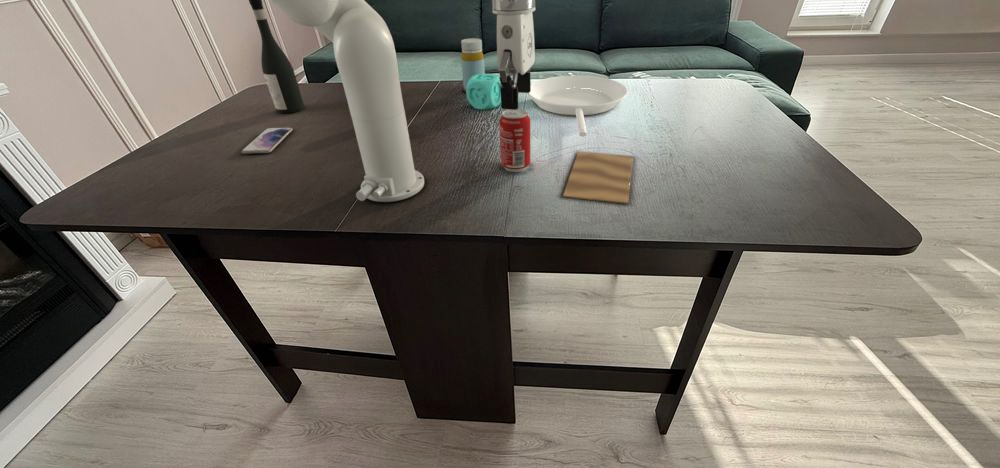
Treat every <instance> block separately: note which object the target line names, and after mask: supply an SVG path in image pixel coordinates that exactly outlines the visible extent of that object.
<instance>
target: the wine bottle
mask: <svg viewBox="0 0 1000 468" xmlns="http://www.w3.org/2000/svg"><path fill="white" fill-rule="evenodd" d="M248 3H249V5H250V6H251V10H252V12H253V15H254V18H255V21H256V23H257V27H258V30H259V34H260V38H261V59H260V61H261V63H260V64H261V70H262V74H263V77H264V79H265V82H266V85H267V88H268V91H269V94H270V97H271V100H272V103H273V106H274V108H275V111H276V112H278V113H280V114H293V113H297V112H299V111H302V110H303V108H305V104H304V103H305V102H304V100H303V97H302V93H301V90H300V87H299V83H298V80H297V77H296V73H295V70H294V68H293V66H292V63H291V62H290V60H289V58H288V56H287V55H286V53H285V52H284V51H283V50H282V48H281V47H280V45H279V44H278V43H277V41H276V39H275V38H274V36H273V33H272V31H271V28H270V24H269V22H268V18H267V15H266V12H265V9H264V5H263V0H248Z"/></svg>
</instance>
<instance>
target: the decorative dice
mask: <svg viewBox="0 0 1000 468" xmlns="http://www.w3.org/2000/svg"><path fill="white" fill-rule="evenodd" d="M499 78H500V76H498V75H497V74H494V73H485V74H478V75H474V76H472V77H471V78H470V79H469V81H468V84H467V89H466V91H465V92H466V99H467V101H468V103H469V104H470V106H472V107H473V108H474V109H476V110H481V111H482V110H486V111H487V110H493V109H497V107H498V106H500V105H501V90H500V79H499Z"/></svg>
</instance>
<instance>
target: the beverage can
mask: <svg viewBox="0 0 1000 468" xmlns="http://www.w3.org/2000/svg"><path fill="white" fill-rule="evenodd" d="M498 124H499V125H498V126H499V146H500V147H499V148H500V150H499V153H500V165H501V166H502V167H503V168H504V169H505V171H507V172H511V173H519V172H524V171H525V170H526V169H527V168H528V167H529V166H530V165H531V118H530V116H529V115H528V111H527V110H526V109H523V108H518V109H517V110H513V109H504V110H503V111H502V113H501V117H500V118H499V120H498Z"/></svg>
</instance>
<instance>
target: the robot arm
mask: <svg viewBox="0 0 1000 468" xmlns="http://www.w3.org/2000/svg"><path fill="white" fill-rule="evenodd" d="M268 1H269V2H271V4H273V5H274V6H275V7H276V8H277V9H278V10H279V11H281V12H282V14H284V15H285V16H286V17H287V18H288V19H290V20H292V21H293V22H294V23H297V24H299V25H301V26H305V27H313V28H314V29H316V30H317V32H319V33H320V34H322V35H323V36H324V37H325V38H326V39H328V40H329V42H331V43H332V46H333V54H334V58H335V62H336V67H337V69H338V72H339V77H340V80H341V83H342V86H343V90H344V94H345V97H346V101H347V104H348V109H349V115H350V117H351V121H352V125H353V130H354V132H355V136H356V141H357V145H358V148H359V149H358V150H359V154H360V157H361V158H360V159H361V162H362V165H363V169H364V174H365V175H364V176H363V179H364V180H362V181H361V184H360V188H359V190H358V191H357V192H356V193H355V198H356V199H357V200H358V201H360V202H363V201H366V200H367V199H368V200H370V201H373V202H378V203H391V202H392V203H393V202H398V201H402V200H406V199H409V198H411V197H413V196H415V195H417V194H418V193H419V192H421V190H422V189H423V188H424V186H425V177H424V175H423V174H422V173H421V172H419V171H418V170H416V169H415V163H414V157H413V153H412V147H411V146H412V145H411V140H410V134H409V129H408V122H407V117H406V111H405V106H404V100H403V94H402V88H401V82H400V81H401V80H400V75H399V67H398V59H397V58H398V57H397V52H396V49H395V48H396V47H395V43H394V39H393V36H392V34H391V31H390V29H389V27H388V25H387V23H386V21H385V20H384V18H383V17H382V16H381V15H380V14H379V13H378V12H377V11H376V10H375V9H374V8H373V7H372V6H371V5H370V4H369V3H368V2H366V0H268ZM491 7H492V9H491V10H492V14H494V15H496V61H497V69H498V74H499V79H500V90H501V103H500V107H501V109H502V110H508V109H513V110H517V109H519V108H520V107H519V105H520V104H519V94H528V93H529V92H530V91H531V84H532V83H531V78H532V77H531V67H532V66H533V65H534V63H535V60H536V47H535V29H534V16H533V15H534V14H533V13H534V12H535V11H536V0H491Z"/></svg>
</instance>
